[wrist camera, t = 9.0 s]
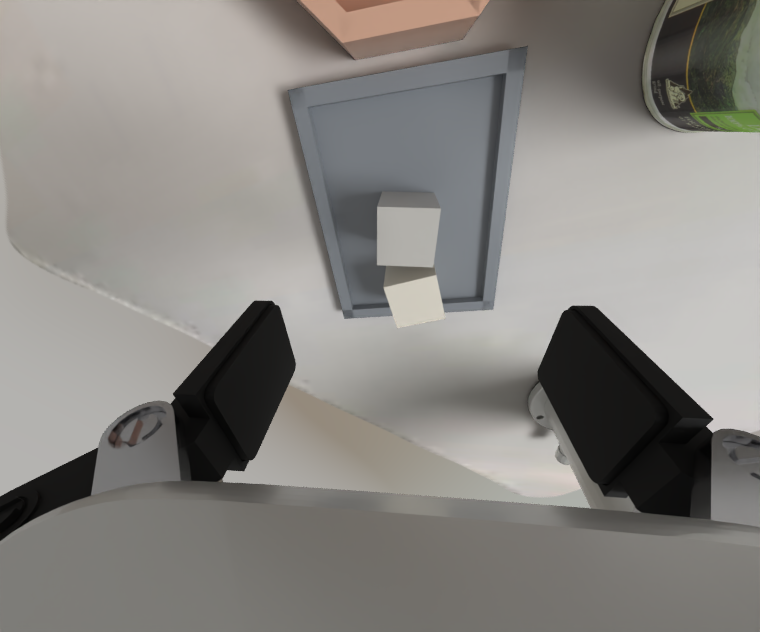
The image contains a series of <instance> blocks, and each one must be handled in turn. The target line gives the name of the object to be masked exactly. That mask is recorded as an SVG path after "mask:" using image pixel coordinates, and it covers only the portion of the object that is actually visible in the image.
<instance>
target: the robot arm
mask: <svg viewBox="0 0 760 632" xmlns="http://www.w3.org/2000/svg"><path fill="white" fill-rule="evenodd" d="M295 366H296V363H295V359H294V355H293V352H292V348H291V345H290V341H289V338H288V334H287V331H286V327H285V324H284V320H283V317H282V313H281V310H280V307H279V306H278V305H275V304H274V302H272V301H254V302H253V303H252V304H251V305H250V306H249V307H248V308H247V309H246V311H245V312H244V313H243V314H242V315H241V316H240V317H239V319H238V320H237V321H236V322H235V323H234V324H233V325H232V327H231V328H230V329H229V330H228V331H227V332H226V333H225V335H224V336H223V337H222V338H221V339H220V340H219V342H218V343H217V344H216V345H215V346H214V347H213V348H212V350H211V351H210V352H209V353H208V354H207V355H206V357H205V358H204V359H203V360H202V361H201V362H200V363H199V364H198V366H197V367H196V368H195V369H194V370H193V371H192V372H191V374H190V375H189V376H188V377H187V378H186V379H185V380H184V382H183V383H182V384H181V385H180V386H179V387H178V389H177V390H176V391H175V392H174V393H173V395H174V396H175V399H174V401H173V402H172V403H171V404H169V403H168V402H164V401H153V402H148V403H145V404H142V405H139V406H137V407H135V408H133V409H131V410H129V411H127V412H126V413H124V414H123V415H122V416H120V417H118V418H117V419H116V420H115V421H114V422H113V423H112V424H111V425H110V426H109V427H108V428H107V429H106V431H105V432H104V433H103V435H102V437H101V440H100V442H99V447H98V448H96V449H94V450H92V451H90V452H88V453H86V454H84V455H82V456H80V457H78V458H76V459H74V460H72V461H70V462H68V463H66V464H64V465H62V466H60V467H58V468H56V469H54V470H52V471H50V472H48V473H46V474H44V475H42V476H40V477H38V478H36V479H34V480H31V481H29V482H28V483H26V484H24V485H21V486H20V487H17V488H15V489H14V490H11V491H9V492H8V493H6V494H4V495H2V496H0V632H760V437H759V436H756V435H753V434H750V433H748V432H745V431H740V430H735V429H720V430H718V431H716V432H714V433H712V432H711V431H710V430H709V429H708V428H707V427H706V426H707V425H708V424H709V423H710V422H711V421H712V420H713V418H712V417H711V416H710V415H709V414H708V413H707V412H706V411H705V410H703V409H702V408H701V407H700V406H699V405H698V404H697V403H696V402H695V401H694V400H693V399H692V398H691V397H690V396H689V395H688V394H687V393H686V392H685V391H684V390H682V389H681V388H680V387H679V386H678V385H677V384H676V383H675V382H674V381H673V380H672V379H671V378H670V377H669V376H668V375H667V374H666V373H665V372H664V371H663V370H662V369H660V368H659V367H658V366H657V365H656V364H655V363H654V362H653V361H652V360H651V359H650V358H649V357H648V356H647V355H646V354H645V353H644V352H643V351H642V350H641V349H640V348H638V347H637V346H636V345H635V344H634V343H633V342H632V341H631V340H630V339H629V338H628V337H627V336H626V335H625V334H624V333H623V332H622V331H621V330H620V329H619V328H617V327H616V326H615V325H614V324H613V323H612V322H611V321H610V320H609V319H608V318H607V317H606V316H605V315H604V314H603V313H602V312H601V311H600V310H599V309H598V308H596V307H595V306H571V307H570V308H569V309H568V310H565V311H564V312H563V313H562V315H561V317H560V320H559V322H558V324H557V327H556V329H555V332H554V334H553V336H552V339H551V341H550V343H549V346H548V348H547V350H546V353H545V355H544V357H543V360H542V362H541V364H540V367H539V369H538V379H539V383H538V384H537V385H536V386H535V387H534V389H533V390H532V391H531V393H530V396H529V398H528V408H529V411H530V413H531V415H532V417H533V419H534V420H535V421H536V422H537V423H538V424H540V425H541V426H543V427H545V428H547V429H550V430H553V431H554V433H555V435H556V437H557V439H558V442H559V446H558V448H557V450H556V453H555V457H556V459H557V460H558V461H559V462H560V463H562V464H564V465H569V464H570V466H571V468H572V470H573V472H574V474H575V476H576V478H577V480H578V483H579V485H580V487H581V489H582V491H583V493H584V495H585V497H586V499H587V501H588V503H589V505H590V507H591V509H589V508H577V507H565V506H552V505H540V504H527V503H514V502H501V501H488V500H475V499H460V498H448V497H435V496H421V495H407V494H393V493H380V492H366V491H351V490H337V489H323V488H307V487H294V486H279V485H265V484H246V483H226V482H223V480H222V478H223V477H224V475H225V473H226V471H227V470H233V471H244V470H245V468H246V466H247V464H248V462H249V460H253V459H254V458H255V456H256V454H257V452H258V450H259V448H260V446H261V444H262V441H263V439H264V437H265V435H266V433H267V430H268V428H269V426H270V424H271V421H272V419H273V417H274V415H275V413H276V411H277V408H278V406H279V404H280V402H281V400H282V397H283V395H284V393H285V391H286V389H287V387H288V384H289V382H290V380H291V378H292V376H293V373H294V371H295Z"/></svg>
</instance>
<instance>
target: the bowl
mask: <svg viewBox="0 0 760 632" xmlns="http://www.w3.org/2000/svg"><path fill="white" fill-rule="evenodd" d="M296 1H297V2H298V3H299V4H300V5H301V6H302V7H303V8H304V9H305V10H306V11H307V12H308V13H309V14H310V15H311V16H312V17H313V18H314V19H315V20H316V21H317V22H318V23H319V24H320V25H321V26H322V27H323V28H324V29H325V30H326V31H327V32H328V33H329V34H330V35H331V36H332V37H333V38H334V39H335V40H336V41H337V42H338V43H339V44H340V45H341V46H342V47H343V48H344V49H345V50H346V51H347V52H348V53H349V54H350V55H351V56H352V57H353V58H354V59H355V60H359V59H364V58H369V57H374V56H380V55H385V54H390V53H395V52H401V51H406V50H411V49H416V48H422V47H427V46H432V45H437V44H442V43H448V42H453V41H458V40H463V38H464V37H465V35H466V34H467V32H468V31H469V30H470V28H471V27H472V25H473V24H474V22H475V21H476V19H477V18H478V16H479V15H480V14H481V12H482V11H483V9H484V8H485V6H486V5H487V3H488V2H489V0H296Z"/></svg>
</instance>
